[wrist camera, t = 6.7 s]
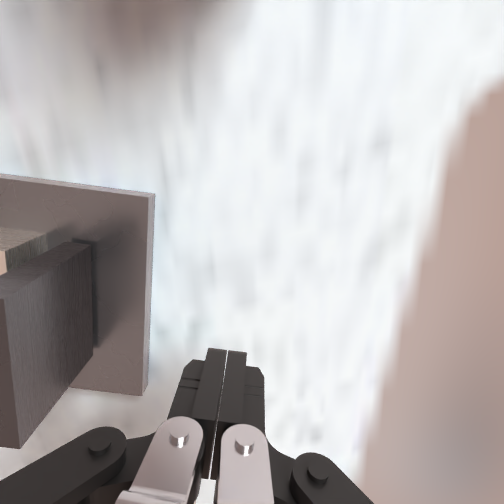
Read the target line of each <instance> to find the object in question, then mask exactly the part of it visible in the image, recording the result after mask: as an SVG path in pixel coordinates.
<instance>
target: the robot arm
mask: <svg viewBox="0 0 504 504" xmlns="http://www.w3.org/2000/svg"><path fill="white" fill-rule="evenodd" d="M226 354H227V350H222V349H214V348H208V352H207V355H206V359H205V361H201V360H194V359H193V360H192V361H191V362H190V363H189V364H188V365H186V366H185V367H184V370H183V373H182V376H181V379H180V382H179V385H178V388H177V391H176V394H175V397H174V400H173V403H172V406H171V409H170V412H169V415H168V418H167V420H166V421H164V422H163V423H162V424H161V425H160V426H159V427H158V429H157V431H156V432H154V433H152V434H150V435H148V436H144V437H140V438H133V439H127V440H126V437H125V435H124V434H123V432H121V431H120V430H119V429H117V428H114V427H99V428H95V429H93V430H90V431H88V432H86V433H85V434H83V435H81V436H79V437H77V438H76V439H74V440H72V441H70V442H69V443H67V444H65V445H63V446H62V447H60V448H58V449H56V450H54V451H53V452H51V453H49V454H47V455H46V456H44V457H42V458H40V459H38V460H37V461H35V462H33V463H31V464H30V465H28V466H26V467H24V468H23V469H21V470H19V471H17V472H15V473H14V474H12V475H10V476H8V477H7V478H5V479H3V480H1V481H0V504H196V499H197V497H198V494H199V489H200V484H201V478H203V479H208V477H209V470H210V464H211V458H212V451H213V445H214V439H215V445H214V453H213V461H212V469H211V477H210V479H213V480H216V486H215V493H214V501H213V504H374V503H373V502H372V501H371V500H370V499H369V498H368V497H367V496H366V495H365V494H364V493H363V492H362V491H361V490H360V489H359V488H358V487H357V486H356V485H355V484H354V483H353V482H352V481H351V480H350V479H349V478H348V477H347V476H346V475H345V474H344V473H343V472H342V471H341V470H340V469H339V468H338V467H337V466H336V465H335V464H334V463H333V462H332V461H331V460H330V459H328V458H327V457H325V456H323V455H321V454H318V453H304V454H302V455H300V456H298V457H297V458H296V460H295V459H293V458H291V457H288V456H286V455H284V454H282V453H280V452H278V451H277V450H276V449H274V448H273V447H272V446H271V444H270V443H269V442H268V440H267V438H266V435H265V407H264V376H263V374H262V373H261V371H260V369H259V368H258V367H250V366H246V356H247V353H246V352H238V351H230V350H228V357H227V363H226V369H225V362H226ZM224 370H225V376H224ZM223 378H224V382H223ZM222 386H223V388H222ZM221 394H222V395H221ZM220 400H221V401H220ZM219 407H220V408H219ZM218 413H219V414H218ZM217 419H218V420H217ZM216 426H217V428H216ZM215 432H216V437H215Z"/></svg>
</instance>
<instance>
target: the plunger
mask: <svg viewBox="0 0 504 504" xmlns="http://www.w3.org/2000/svg"><path fill="white" fill-rule="evenodd" d="M92 356H93V315H92V265H91V245H88V244H81V243H73V242H63V243H61V244H59V245H58V246H56V247H54V248H52V249H50V250H48V251H46V252H44V253H42V254H40V255H38V256H37V257H35V258H33V259H31V260H29V261H27V262H25V263H23V264H21V265H19V266H17V267H16V268H14V269H12V270H10V271H8V272H6V273H4V274H2V275H0V447H7V448H15V449H21V447H22V446H23V445H24V443H25V442H26V441H27V440H28V438H29V437H30V436H31V434H32V433H33V432H34V431H35V429H36V428H37V427H38V425H39V424H40V423H41V422H42V420H43V419H44V418H45V416H46V415H47V414H48V413H49V411H50V410H51V409H52V407H53V406H54V405H55V404H56V402H57V401H58V400H59V398H60V397H61V396H62V395H63V393H64V392H65V391H66V389H67V388H68V387H69V386H70V384H71V383H72V382H73V380H74V379H75V378H76V377H77V375H78V374H79V373H80V371H81V370H82V369H83V368H84V366H85V365H86V364H87V362H88V361H89V360H90V359H91V357H92Z"/></svg>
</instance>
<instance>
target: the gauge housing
mask: <svg viewBox="0 0 504 504" xmlns="http://www.w3.org/2000/svg"><path fill="white" fill-rule="evenodd" d="M154 210H155V194H152V193H145V192H137V191H129V190H122V189H114V188H107V187H99V186H91V185H84V184H76V183H68V182H61V181H53V180H45V179H38V178H30V177H23V176H15V175H7V174H0V275H2V274H4V273H6V272H8V271H10V270H12V269H14V268H16V267H17V266H19V265H21V264H23V263H25V262H27V261H29V260H31V259H33V258H35V257H37V256H38V255H40V254H42V253H44V252H46V251H48V250H50V249H52V248H54V247H56V246H58V245H59V244H61V243H63V242H73V243H81V244H88V245H91V265H92V315H93V356H92V357H91V359H90V360H89V361H88V362H87V364H86V365H85V366H84V368H83V369H82V370H81V371H80V373H79V374H78V375H77V377H76V378H75V379H74V380H73V382H72V383H71V384H70V386H69V387H72V388H80V389H88V390H97V391H105V392H113V393H121V394H129V395H137V396H142V395H143V393H144V391H145V389H146V386H147V384H148V364H149V338H150V312H151V287H152V261H153V235H154Z"/></svg>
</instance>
